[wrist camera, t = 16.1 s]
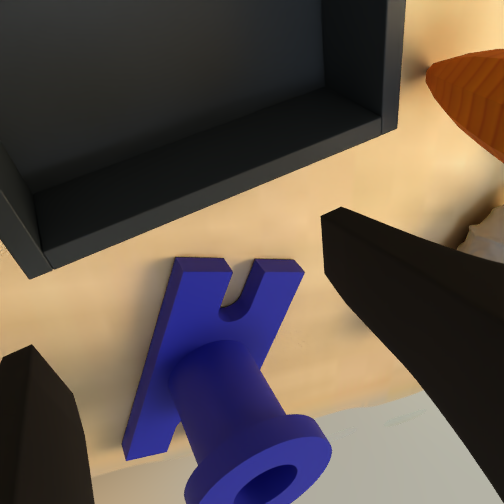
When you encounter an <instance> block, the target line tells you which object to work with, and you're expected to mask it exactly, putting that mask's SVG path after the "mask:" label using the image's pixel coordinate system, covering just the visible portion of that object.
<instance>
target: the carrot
mask: <svg viewBox="0 0 504 504" xmlns="http://www.w3.org/2000/svg"><path fill="white" fill-rule="evenodd" d="M426 83H427V85H428V87H429V89H430V91H431V93H432V95H433V96H434V98H435V99H436V101H437V102H438V103H439V104H440V106H441V107H442V108H443V109H444V111H445V112H446V113H447V114H448V115H449V117H450V118H451V119H452V120H453V121H454V122H455V123H456V125H457V126H458V127H459V128H460V129H461V130H463V131H464V132H465V133H466V134H467V135H469V136H470V137H471V138H472V139H473V140H474V141H476V142H477V143H478V144H479V145H480V146H482V147H483V148H484V149H486V150H487V151H488V152H489V153H491V154H492V155H493V156H495V157H496V158H497V159H499V160H500V161H501V162H503V163H504V49H495V50H488V51H481V52H475V53H468V54H465V55H461V56H458V57H454V58H451V59H447V60H443V61H440V62H437V63H433V64H432V65H431V66H430V67H429V68H428V70H427V71H426Z"/></svg>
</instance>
